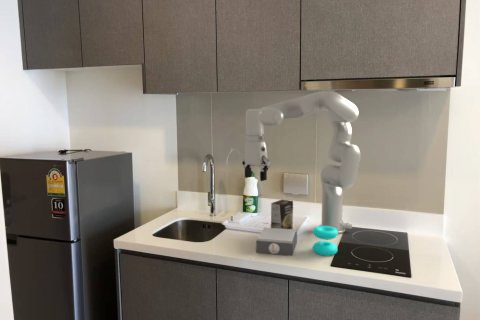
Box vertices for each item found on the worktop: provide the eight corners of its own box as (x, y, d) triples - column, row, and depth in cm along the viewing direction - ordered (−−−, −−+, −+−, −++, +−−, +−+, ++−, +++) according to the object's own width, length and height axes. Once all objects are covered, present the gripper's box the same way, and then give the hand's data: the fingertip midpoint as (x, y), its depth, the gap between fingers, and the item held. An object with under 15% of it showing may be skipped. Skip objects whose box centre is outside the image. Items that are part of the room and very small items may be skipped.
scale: (296, 242, 174) (296, 229, 173) (292, 256, 159) (292, 242, 158) (263, 239, 178) (263, 227, 177) (255, 253, 163) (255, 239, 162)
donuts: (321, 223, 169) (342, 228, 162) (320, 245, 170) (341, 251, 164) (308, 229, 162) (330, 234, 155) (308, 252, 163) (329, 258, 156)
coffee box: (282, 240, 177) (282, 205, 175) (270, 237, 181) (270, 202, 179) (293, 234, 184) (293, 201, 181) (281, 231, 188) (282, 198, 186)
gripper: (276, 139, 161) (276, 180, 164) (248, 136, 175) (248, 174, 177) (262, 141, 157) (263, 183, 160) (235, 138, 170) (235, 177, 173)
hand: (255, 178), depth 168 cm, fingers open, 9 cm apart
